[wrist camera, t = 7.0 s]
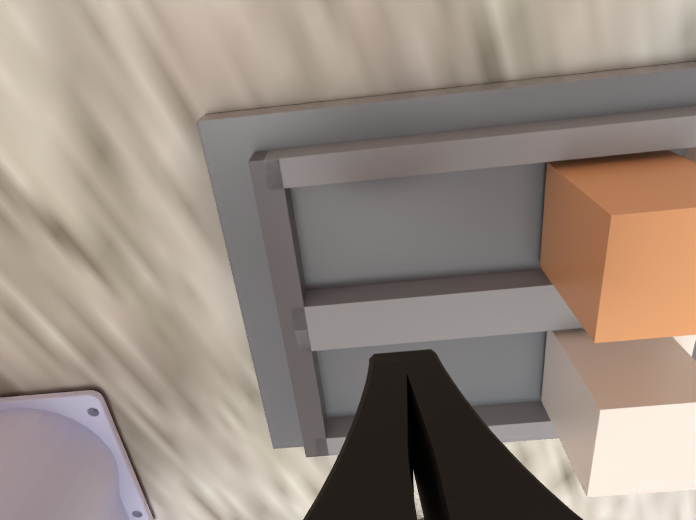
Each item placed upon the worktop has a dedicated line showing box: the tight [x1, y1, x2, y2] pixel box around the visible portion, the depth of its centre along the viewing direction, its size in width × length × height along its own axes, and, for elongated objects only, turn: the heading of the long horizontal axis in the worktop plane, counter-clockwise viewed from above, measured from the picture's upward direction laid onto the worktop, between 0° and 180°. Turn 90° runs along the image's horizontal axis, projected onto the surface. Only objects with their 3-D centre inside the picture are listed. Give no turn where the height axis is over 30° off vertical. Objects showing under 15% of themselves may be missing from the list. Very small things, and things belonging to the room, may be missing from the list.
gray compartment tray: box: [197, 61, 696, 457], centre depth 20 cm, size 15×19×2 cm
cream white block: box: [541, 328, 696, 497], centre depth 19 cm, size 4×4×5 cm
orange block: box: [540, 150, 696, 343], centre depth 16 cm, size 4×4×5 cm
